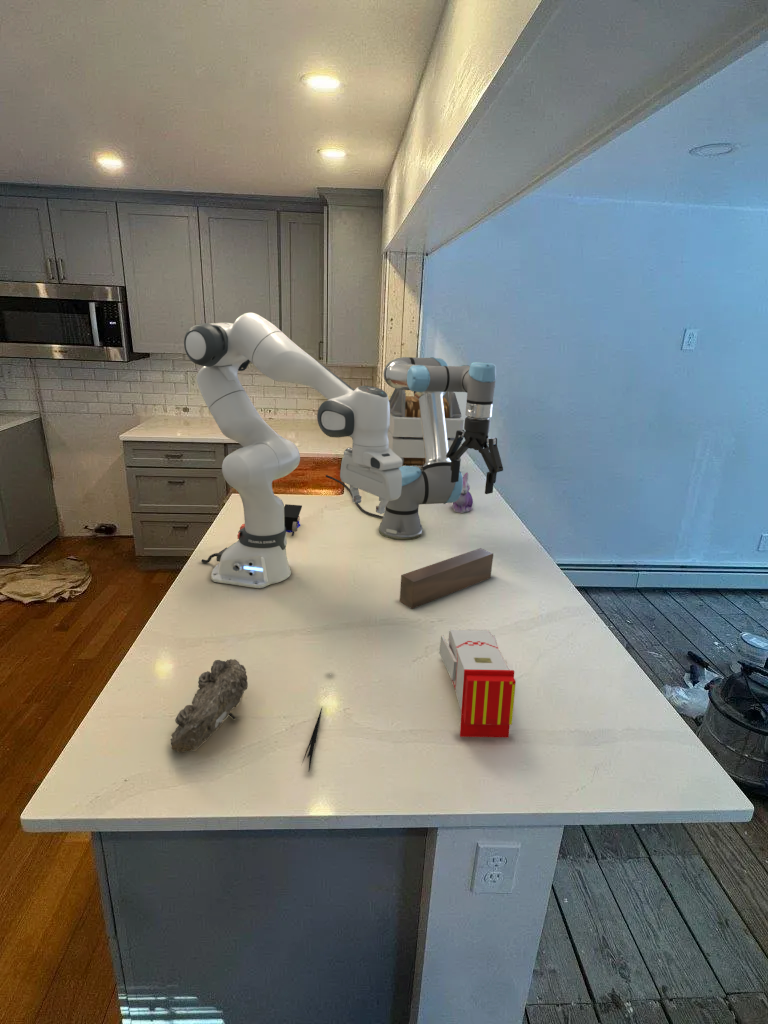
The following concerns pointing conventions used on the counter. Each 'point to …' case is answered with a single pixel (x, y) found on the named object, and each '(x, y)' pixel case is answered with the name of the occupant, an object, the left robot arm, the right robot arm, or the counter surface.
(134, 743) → the counter surface
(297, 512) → the figurine character
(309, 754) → the feather
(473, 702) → the toy
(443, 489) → the right robot arm
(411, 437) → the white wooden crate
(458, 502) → the figurine
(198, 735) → the fossil
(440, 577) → the walnut beam
